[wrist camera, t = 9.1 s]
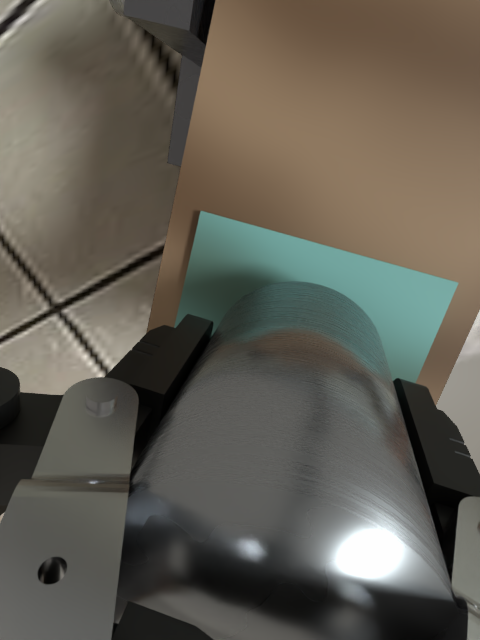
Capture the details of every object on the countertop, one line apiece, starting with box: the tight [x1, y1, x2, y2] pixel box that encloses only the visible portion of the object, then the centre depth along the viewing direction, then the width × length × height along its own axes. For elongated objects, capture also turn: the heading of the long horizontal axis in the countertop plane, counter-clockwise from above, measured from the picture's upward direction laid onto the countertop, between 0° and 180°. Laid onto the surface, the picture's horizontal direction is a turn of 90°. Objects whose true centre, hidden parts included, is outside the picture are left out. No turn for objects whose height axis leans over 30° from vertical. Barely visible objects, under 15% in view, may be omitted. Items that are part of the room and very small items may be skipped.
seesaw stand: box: [109, 0, 215, 167], centre depth 14 cm, size 12×17×9 cm
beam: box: [146, 0, 480, 406], centre depth 11 cm, size 25×10×2 cm, turn 167°
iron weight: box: [113, 281, 459, 640], centre depth 8 cm, size 5×5×7 cm
